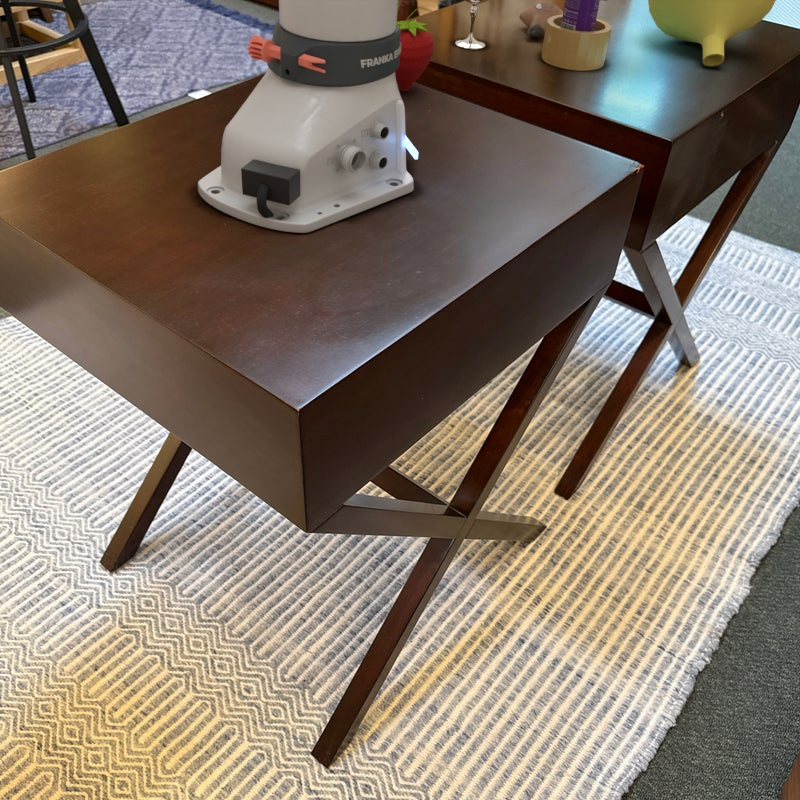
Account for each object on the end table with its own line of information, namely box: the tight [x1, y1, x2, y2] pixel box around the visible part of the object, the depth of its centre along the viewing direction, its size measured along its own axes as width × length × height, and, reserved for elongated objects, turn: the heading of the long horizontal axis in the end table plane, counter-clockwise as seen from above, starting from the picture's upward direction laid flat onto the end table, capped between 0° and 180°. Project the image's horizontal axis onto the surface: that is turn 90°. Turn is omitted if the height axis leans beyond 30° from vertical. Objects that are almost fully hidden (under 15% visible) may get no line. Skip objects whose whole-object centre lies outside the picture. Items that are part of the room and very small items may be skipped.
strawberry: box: [395, 8, 435, 92], centre depth 104 cm, size 6×8×10 cm
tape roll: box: [541, 15, 613, 72], centre depth 120 cm, size 9×9×5 cm
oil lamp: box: [518, 2, 564, 38], centre depth 130 cm, size 9×4×8 cm
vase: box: [647, 0, 777, 67], centre depth 124 cm, size 18×18×19 cm
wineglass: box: [454, 0, 489, 50], centre depth 120 cm, size 6×6×12 cm
